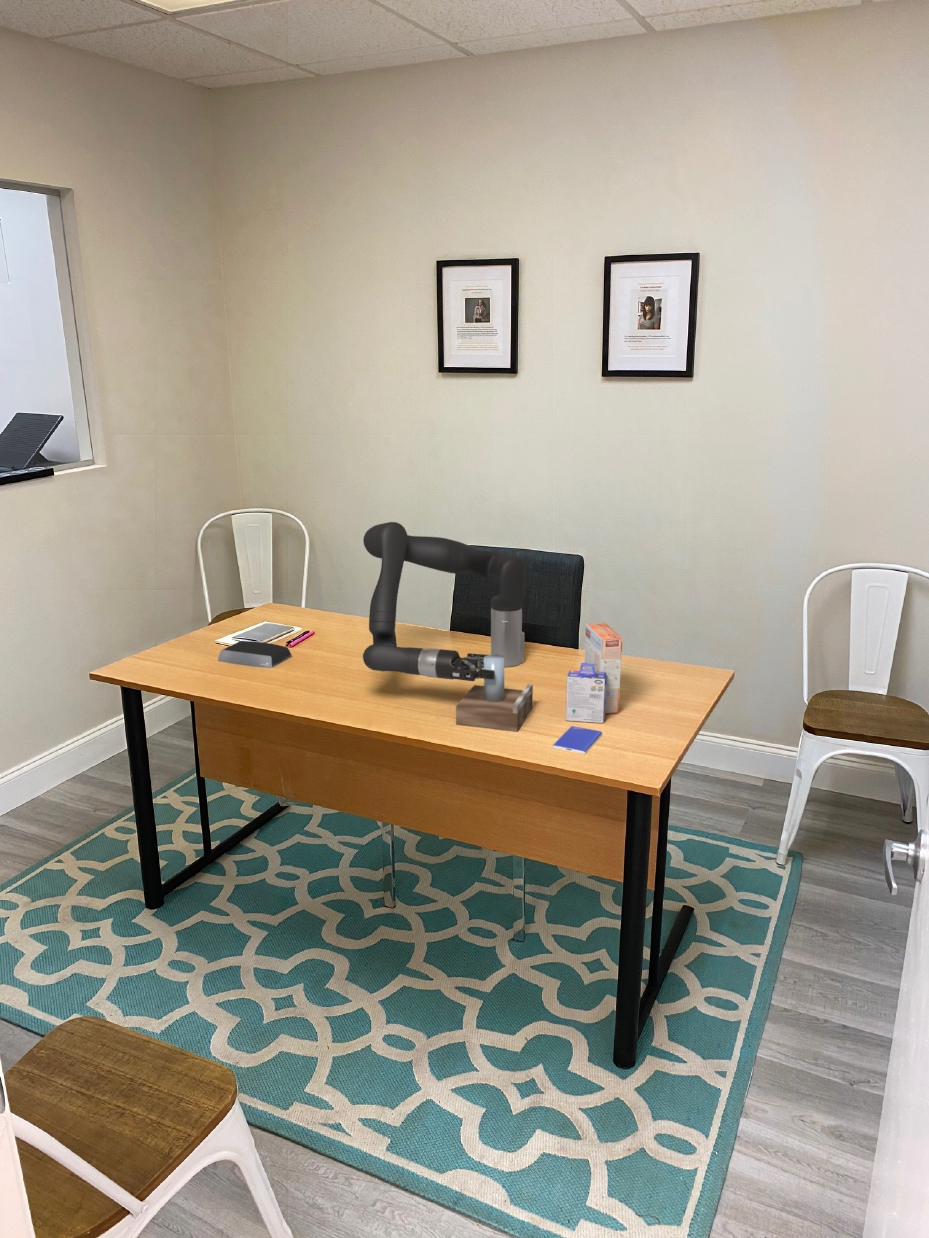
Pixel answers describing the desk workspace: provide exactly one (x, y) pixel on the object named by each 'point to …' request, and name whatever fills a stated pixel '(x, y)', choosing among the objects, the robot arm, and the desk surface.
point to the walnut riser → (495, 709)
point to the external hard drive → (255, 654)
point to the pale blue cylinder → (496, 685)
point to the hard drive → (577, 739)
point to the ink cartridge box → (586, 695)
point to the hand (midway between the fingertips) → (499, 669)
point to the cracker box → (605, 659)
